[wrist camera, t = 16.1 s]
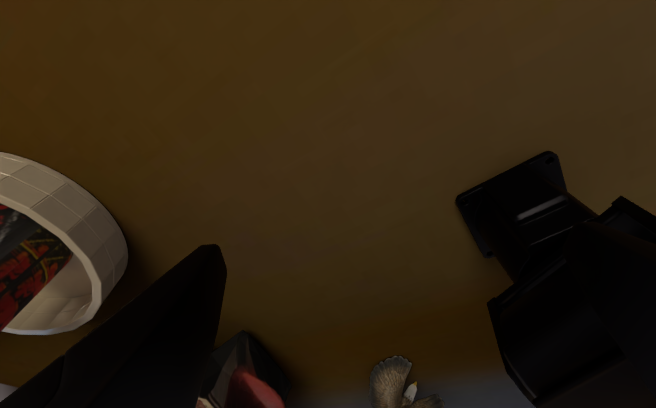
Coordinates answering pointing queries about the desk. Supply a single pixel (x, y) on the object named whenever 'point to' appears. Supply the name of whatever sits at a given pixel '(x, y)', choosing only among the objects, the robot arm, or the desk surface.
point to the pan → (78, 235)
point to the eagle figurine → (397, 387)
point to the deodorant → (26, 261)
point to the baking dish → (242, 377)
